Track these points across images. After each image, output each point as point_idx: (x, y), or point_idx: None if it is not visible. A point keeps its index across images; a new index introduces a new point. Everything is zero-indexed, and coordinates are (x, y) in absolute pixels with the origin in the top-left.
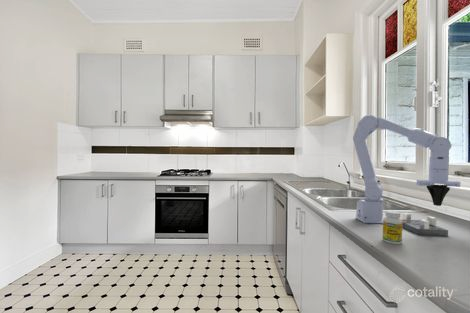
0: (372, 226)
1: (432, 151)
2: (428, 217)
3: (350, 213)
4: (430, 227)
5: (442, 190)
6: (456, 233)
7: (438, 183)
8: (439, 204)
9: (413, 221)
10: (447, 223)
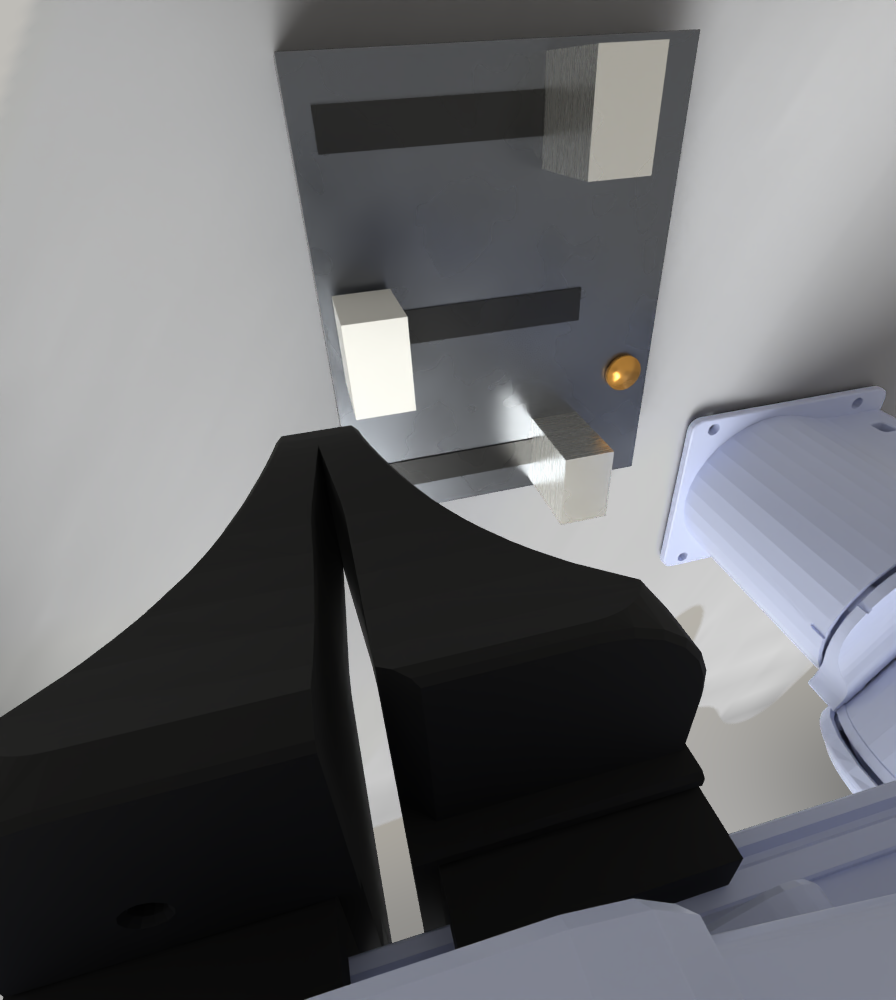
0: (885, 289)
1: None
2: (411, 384)
3: (754, 638)
4: (457, 180)
5: (320, 669)
6: (83, 241)
7: (795, 936)
8: (321, 434)
9: (496, 434)
10: (26, 648)
